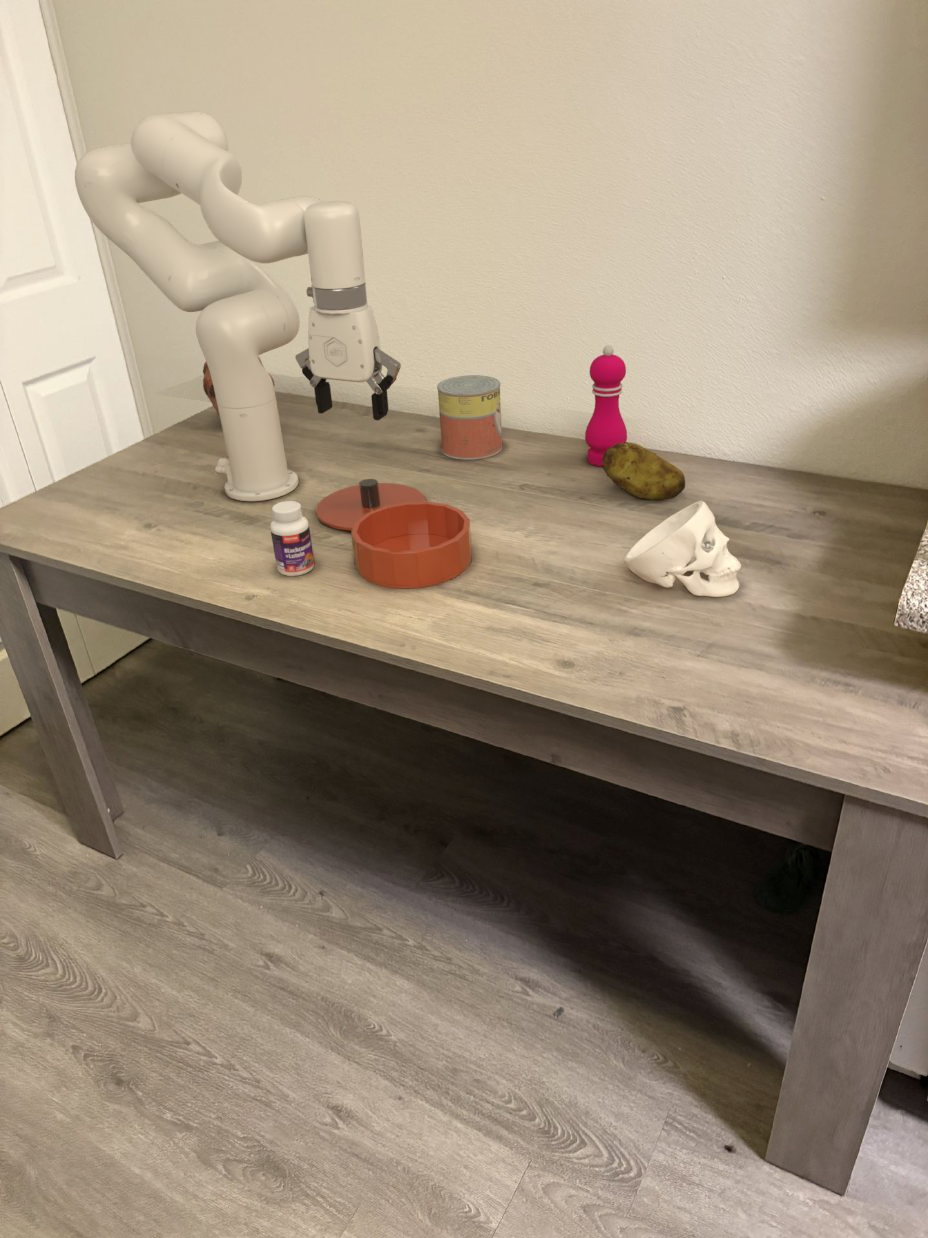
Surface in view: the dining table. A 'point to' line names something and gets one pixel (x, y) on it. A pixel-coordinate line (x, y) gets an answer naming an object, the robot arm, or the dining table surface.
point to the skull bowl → (686, 554)
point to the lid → (362, 502)
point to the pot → (412, 544)
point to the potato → (642, 472)
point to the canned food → (470, 417)
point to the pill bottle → (291, 539)
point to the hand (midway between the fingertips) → (352, 413)
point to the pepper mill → (605, 406)
